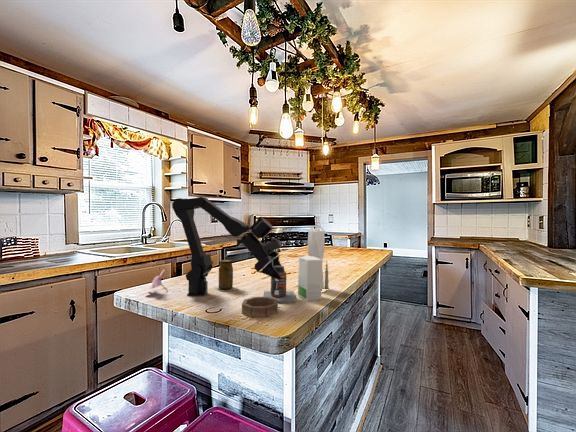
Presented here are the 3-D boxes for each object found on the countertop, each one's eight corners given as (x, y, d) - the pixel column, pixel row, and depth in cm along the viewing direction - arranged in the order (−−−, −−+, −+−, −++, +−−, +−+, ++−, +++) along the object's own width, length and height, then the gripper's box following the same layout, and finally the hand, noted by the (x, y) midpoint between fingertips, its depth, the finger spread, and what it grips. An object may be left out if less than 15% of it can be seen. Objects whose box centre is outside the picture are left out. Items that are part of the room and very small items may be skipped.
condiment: (229, 285, 127) (229, 258, 127) (238, 289, 121) (238, 261, 121) (214, 287, 123) (214, 260, 123) (223, 292, 116) (223, 263, 116)
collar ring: (240, 317, 88) (240, 307, 88) (245, 305, 100) (245, 296, 100) (277, 317, 88) (277, 307, 88) (277, 305, 100) (278, 296, 100)
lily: (157, 290, 122) (145, 272, 119) (181, 280, 121) (170, 262, 118) (145, 307, 111) (131, 288, 108) (171, 297, 109) (158, 277, 107)
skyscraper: (321, 294, 115) (322, 225, 114) (303, 291, 119) (304, 225, 118) (329, 289, 122) (329, 225, 122) (312, 287, 126) (312, 224, 126)
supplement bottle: (279, 298, 104) (279, 268, 104) (267, 295, 108) (267, 266, 108) (289, 295, 109) (289, 266, 109) (277, 292, 112) (277, 264, 112)
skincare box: (297, 295, 112) (297, 256, 112) (312, 293, 114) (312, 255, 114) (307, 301, 104) (307, 259, 104) (322, 299, 107) (323, 258, 107)
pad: (262, 303, 102) (262, 300, 102) (264, 293, 114) (264, 291, 114) (295, 303, 102) (295, 300, 102) (293, 293, 114) (293, 291, 114)
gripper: (263, 234, 99) (294, 266, 98) (274, 230, 118) (300, 258, 116) (241, 255, 101) (271, 287, 99) (255, 249, 119) (281, 276, 117)
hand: (282, 276), depth 108 cm, fingers open, 9 cm apart
